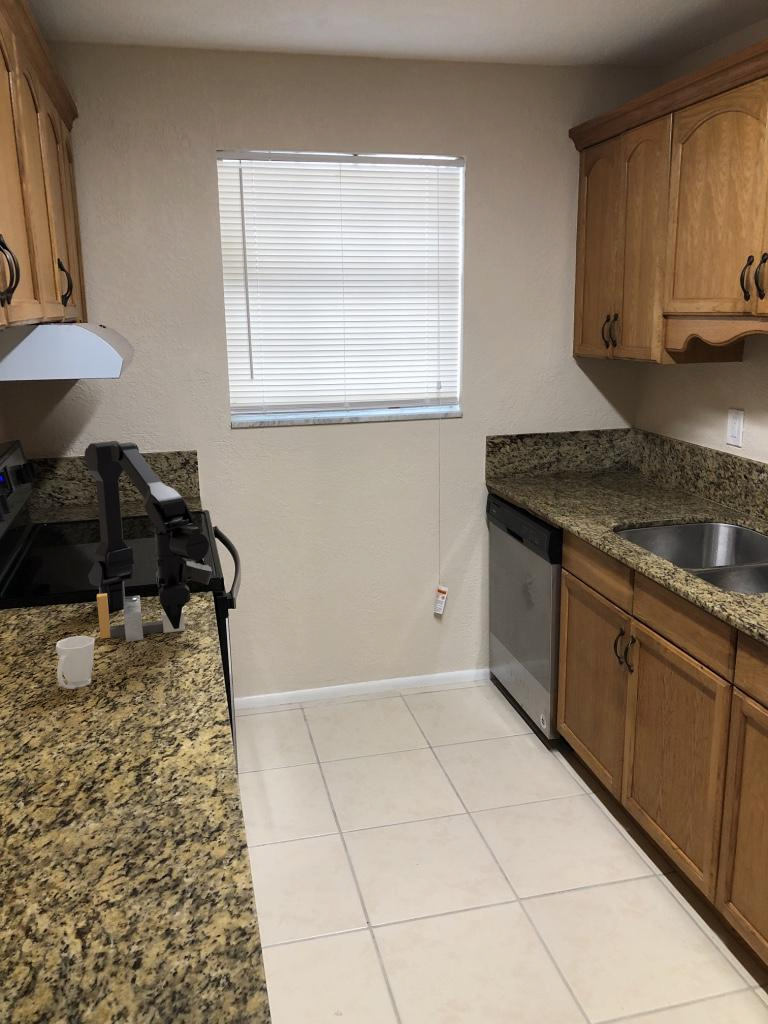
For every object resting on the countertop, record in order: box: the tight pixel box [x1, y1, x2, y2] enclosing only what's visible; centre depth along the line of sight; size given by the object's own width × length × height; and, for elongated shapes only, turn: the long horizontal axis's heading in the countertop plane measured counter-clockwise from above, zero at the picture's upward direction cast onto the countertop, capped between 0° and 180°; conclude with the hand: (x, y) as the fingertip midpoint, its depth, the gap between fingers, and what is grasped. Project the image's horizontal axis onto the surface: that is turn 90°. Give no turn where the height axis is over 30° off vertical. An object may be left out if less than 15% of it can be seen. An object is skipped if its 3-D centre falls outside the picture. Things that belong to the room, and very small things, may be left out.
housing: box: [123, 595, 144, 643], centre depth 179 cm, size 4×12×6 cm, turn 17°
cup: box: [55, 635, 95, 690], centre depth 151 cm, size 7×10×8 cm
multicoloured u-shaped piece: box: [96, 593, 186, 639], centre depth 178 cm, size 18×4×9 cm, turn 107°
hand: (175, 621), depth 181 cm, fingers open, 9 cm apart
